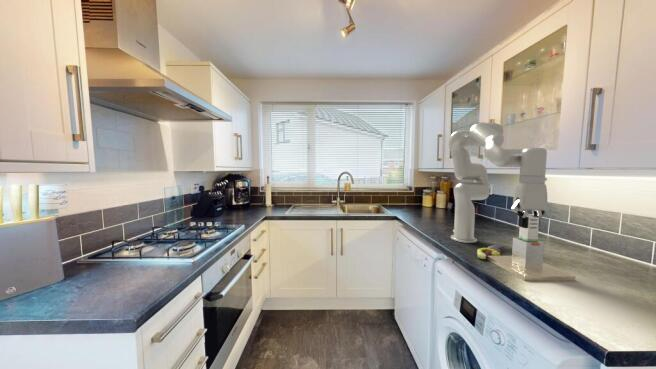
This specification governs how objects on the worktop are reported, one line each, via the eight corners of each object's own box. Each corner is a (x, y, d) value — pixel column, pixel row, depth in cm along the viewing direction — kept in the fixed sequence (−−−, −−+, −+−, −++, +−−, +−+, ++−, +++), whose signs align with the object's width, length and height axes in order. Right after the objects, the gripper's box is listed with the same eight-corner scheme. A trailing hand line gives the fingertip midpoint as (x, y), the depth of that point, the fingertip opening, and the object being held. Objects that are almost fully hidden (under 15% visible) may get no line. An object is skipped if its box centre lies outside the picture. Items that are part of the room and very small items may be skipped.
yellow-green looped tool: (494, 244, 121) (470, 256, 107) (495, 239, 120) (471, 250, 106) (513, 250, 114) (489, 263, 100) (513, 245, 114) (490, 257, 100)
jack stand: (486, 259, 104) (487, 233, 103) (527, 259, 104) (529, 233, 104) (524, 280, 84) (526, 248, 83) (575, 280, 84) (577, 248, 84)
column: (517, 251, 96) (520, 215, 95) (527, 251, 96) (530, 215, 95) (526, 255, 92) (529, 217, 91) (537, 255, 92) (539, 217, 91)
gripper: (544, 180, 96) (541, 225, 97) (503, 179, 96) (500, 225, 97) (563, 181, 88) (559, 229, 89) (518, 181, 88) (515, 229, 89)
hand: (528, 226), depth 93 cm, fingers closed on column, 4 cm apart
